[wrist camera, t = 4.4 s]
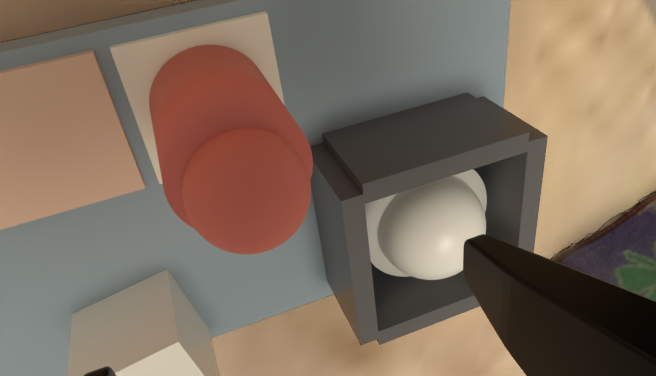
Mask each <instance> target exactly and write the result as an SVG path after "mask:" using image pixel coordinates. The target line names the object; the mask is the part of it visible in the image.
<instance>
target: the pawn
mask: <svg viewBox="0 0 656 376" xmlns="http://www.w3.org/2000/svg"><path fill="white" fill-rule="evenodd" d="M149 107H150V114H151V120H152V125H153V131H154V137H155V143H156V148H157V154H158V160H159V166H160V171H161V177H162V183H163V188H164V192H165V196H166V198H167V201H168V203H169V205H170V206H171V208H172V210H173V211H174V212H175V214H176V215H177V216H178V217H179V218H180V219H181V220H182V221H184V222H185V223H186V224H188V225H189V226H191V227H192V228H194V229H195V230H196V231H197V232H198V233H199V234H200V235H201V236H202V237H203V238H204V239H205V240H206V241H207V242H209V243H210V244H212V245H214V246H215V247H217V248H219V249H222V250H224V251H227V252H231V253H236V254H244V255H249V254H258V253H262V252H266V251H269V250H272V249H274V248H276V247H278V246H279V245H281V244H283V243H284V242H286V241H287V240H288V239H289V238H290V237H291V236H293V234H294V233H295V232H296V231H297V230H298V228H299V227H300V225H301V224H302V222H303V220H304V219H305V217H306V214H307V211H308V208H309V204H310V198H311V183H310V180H311V176H312V170H313V157H312V152H311V148H310V145H309V142H308V140H307V138H306V136H305V134H304V133H303V131H302V130H301V128H300V127H299V126H298V124H297V123H296V121H295V120H294V118H293V117H292V116H291V114H290V113H289V111H288V110H287V108H286V107H285V106H284V104H283V103H282V101H281V100H280V98H279V97H278V95H277V94H276V93H275V91H274V90H273V88H272V87H271V85H270V84H269V83H268V81H267V80H266V78H265V77H264V75H263V74H262V73H261V71H260V70H259V68H258V67H257V66H256V64H255V63H254V62H253V61H252V60H251V59H249V58H248V57H247V56H245V55H244V54H242V53H240V52H239V51H237V50H234V49H232V48H229V47H225V46H220V45H201V46H195V47H192V48H188V49H186V50H184V51H181V52H180V53H178V54H176V55H175V56H173V57H172V58H171V59H169V60H168V61H167V62H166V63H165V64H164V65H163V66H162V67H161V69H160V70H159V71H158V73H157V75H156V77H155V78H154V81H153V83H152V86H151V90H150V95H149Z"/></svg>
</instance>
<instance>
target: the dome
mask: <svg viewBox="0 0 656 376" xmlns="http://www.w3.org/2000/svg"><path fill="white" fill-rule="evenodd" d="M486 205H487V194H486V188H485V185H484V182H483V181H482V179H481V177H480V176H479V175H478V173H477V172H476V171H475V170H473V169H472V170H469V171H466V172H463V173H460V174H457V175H453V176H450V177H447V178H444V179H441V180H438V181H435V182H432V183H428V184H425V185H422V186H419V187H416V188H413V189H410V190H407V191H404V192H400V193H397V194H394V195H391V196H388V197H385V198H382V199H379V200H376V201H372V202H369V203H366V204H365V214H366V223H367V232H368V241H369V250H370V260H371V262H372V264H373V265H374V266H375V267H377V268H378V269H379V270H381V271H383V272H384V273H387V274H390V275H393V276H400V277H409V276H412V277H415V278H418V279H424V280H438V279H444V278H448V277H451V276H453V275H455V274H457V273H459V272H461V271H462V270H463V247H464V243H465V241H466V240H467V239H470V238H472V237H475V236H478V235H481V234H486V218H485V211H486Z"/></svg>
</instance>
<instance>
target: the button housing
mask: <svg viewBox="0 0 656 376" xmlns="http://www.w3.org/2000/svg"><path fill="white" fill-rule="evenodd" d="M322 136H323V143H321V144H317V145H314V146H310V148H311V152H312V157H313V170H312V176H311V180H310V183H311V190H312V196H313V201H314V207H315V213H316V219H317V224H318V230H319V236H320V242H321V247H322V253H323V259H324V264H325V270H326V276H327V282H328V284H329V286H330V288H331V289H332V291H333V293H334V295H335V297H336V299H337V301H338V303H339V305H340V307H341V308H342V310H343V312H344V314H345V316H346V318H347V320H348V322H349V324H350V326H351V327H352V329H353V331H354V333H355V335H356V337H357V339H358V341H359V343H360V345H363V344H366V343H368V342H371V341H373V340H376V339H377V341H378V343H379V344H383V343H386V342H388V341H391V340H393V339H396V338H399V337H401V336H404V335H406V334H409V333H412V332H414V331H417V330H419V329H422V328H425V327H427V326H430V325H432V324H435V323H438V322H440V321H443V320H445V319H448V318H450V317H453V316H456V315H458V314H461V313H463V312H466V311H469V310H471V309H474V308H476V307H479V306H480V304H479V303H478V301H477V299H476V298H475V296H474V294H473V293H472V291H471V289H470V288H469V286H468V284H467V283H466V280H465V278H464V274H463V270H462V271H461V272H459V273H457V274H455V275H453V276H451V277H448V278H444V279H438V280H424V279H418V278H415V277H412V276H409V277H400V276H393V275H390V274H387V273H384V272H383V271H381V270H379V269H378V268H377V267H375V266H374V265H373V264H372V262H371V260H370V250H369V241H368V232H367V223H366V214H365V204H366V203H369V202H372V201H376V200H379V199H382V198H385V197H388V196H391V195H394V194H397V193H400V192H404V191H407V190H410V189H413V188H416V187H419V186H422V185H425V184H428V183H432V182H435V181H438V180H441V179H444V178H447V177H450V176H453V175H457V174H460V173H463V172H466V171H469V170H472V169H473V170H475V171H476V172H477V173H478V175H479V176H480V177H481V179H482V181H483V182H484V185H485V188H486V194H487V205H486V211H485V218H486V235H489V236H492V237H494V238H497V239H500V240H502V241H505V242H507V243H510V244H512V245H515V246H517V247H520V248H522V249H525V250H527V251H530V252H532V253H533V252H534V244H535V235H536V227H537V219H538V211H539V202H540V194H541V186H542V178H543V170H544V161H545V153H546V145H547V137H548V136H547V135H545V134H544V133H542V132H540V131H539V130H537V129H536V128H534V127H532V126H531V125H529V124H528V123H526V122H524V121H523V120H521V119H520V118H518V117H516V116H515V115H513V114H512V113H510V112H508V111H507V110H505V109H504V108H502V107H500V106H499V105H497V104H496V103H494V102H492V101H491V100H489V99H487V98H486V97H484V96H483V97H480V98H476V97H474V96H472V95H471V94H469V93H468V92H467V93H463V94H460V95H456V96H453V97H449V98H446V99H442V100H439V101H435V102H432V103H428V104H424V105H421V106H417V107H414V108H410V109H407V110H403V111H400V112H396V113H393V114H389V115H386V116H382V117H379V118H375V119H372V120H368V121H365V122H361V123H358V124H354V125H351V126H347V127H344V128H340V129H337V130H333V131H330V132H326V133H323V134H322Z"/></svg>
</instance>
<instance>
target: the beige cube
mask: <svg viewBox="0 0 656 376" xmlns="http://www.w3.org/2000/svg"><path fill="white" fill-rule="evenodd" d="M106 366H108V367H110V368H111V369H113V371H114V373H115V374H116V376H219V372H218V367H217V363H216V358H215V354H214V349H213V345H212V340H211V336H210V331H209V328H208V327H207V325H206V324H205V323H204V321H203V320H202V318H201V317H200V315H199V314H198V313H197V311H196V310H195V308H194V307H193V305H192V304H191V302H190V301H189V300H188V298H187V297H186V295H185V294H184V292H183V291H182V289H181V288H180V287H179V285H178V284H177V282H176V281H175V279H174V278H173V277H172V275H171V274H170V272H169V271H168V269H166V270H164V271H162V272H160V273H158V274H156V275H153V276H151V277H149V278H147V279H145V280H143V281H141V282H139V283H137V284H135V285H132V286H130V287H128V288H126V289H124V290H122V291H120V292H118V293H116V294H114V295H111V296H109V297H107V298H105V299H103V300H101V301H99V302H97V303H95V304H93V305H90V306H88V307H86V308H84V309H82V310H80V311H78V312H76V313H74V314H72V320H71V334H70V347H69V361H68V375H67V376H84V375H85V374H86V373H88V372H91V371H94V370H97V369H100V368H102V367H106Z"/></svg>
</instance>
